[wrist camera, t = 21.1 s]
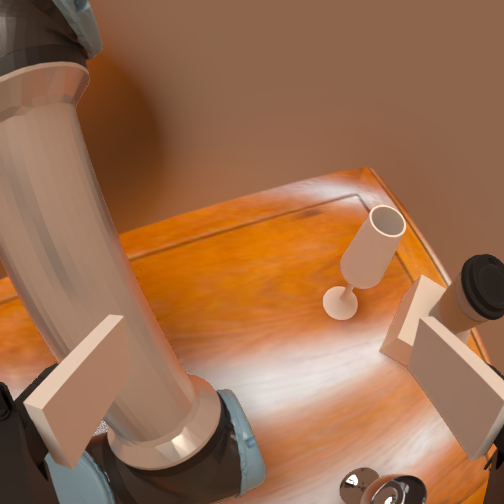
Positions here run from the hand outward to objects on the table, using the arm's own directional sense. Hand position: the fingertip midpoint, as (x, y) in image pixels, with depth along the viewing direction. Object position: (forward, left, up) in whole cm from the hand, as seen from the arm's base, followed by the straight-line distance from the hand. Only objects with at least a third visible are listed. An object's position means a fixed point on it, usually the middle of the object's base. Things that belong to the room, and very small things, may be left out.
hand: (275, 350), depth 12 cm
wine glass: (-4, -22, -38) cm, 44 cm away
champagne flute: (+23, -2, -38) cm, 44 cm away
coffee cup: (+25, -19, -30) cm, 43 cm away
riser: (+25, -19, -38) cm, 49 cm away
